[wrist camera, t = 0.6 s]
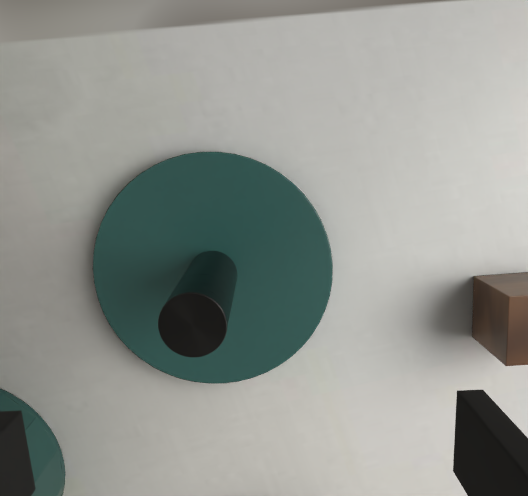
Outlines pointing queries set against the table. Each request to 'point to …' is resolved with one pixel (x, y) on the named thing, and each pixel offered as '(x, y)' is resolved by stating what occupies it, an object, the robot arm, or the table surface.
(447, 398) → the table surface
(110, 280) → the lid
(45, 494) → the tin
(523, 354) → the block
